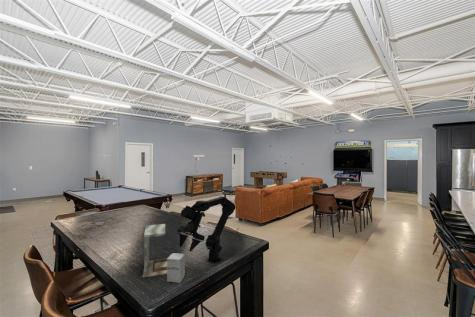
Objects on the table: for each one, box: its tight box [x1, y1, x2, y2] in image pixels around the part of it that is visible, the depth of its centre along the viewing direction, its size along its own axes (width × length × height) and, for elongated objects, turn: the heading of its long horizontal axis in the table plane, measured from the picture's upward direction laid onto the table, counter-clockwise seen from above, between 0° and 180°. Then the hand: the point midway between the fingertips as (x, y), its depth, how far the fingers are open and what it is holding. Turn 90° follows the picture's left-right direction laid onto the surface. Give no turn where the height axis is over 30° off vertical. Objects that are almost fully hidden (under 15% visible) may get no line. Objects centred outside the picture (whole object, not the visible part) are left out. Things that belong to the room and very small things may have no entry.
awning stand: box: [142, 223, 168, 278], centre depth 136 cm, size 18×18×23 cm
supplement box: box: [166, 252, 186, 284], centre depth 123 cm, size 7×7×13 cm
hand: (185, 249), depth 128 cm, fingers open, 9 cm apart
